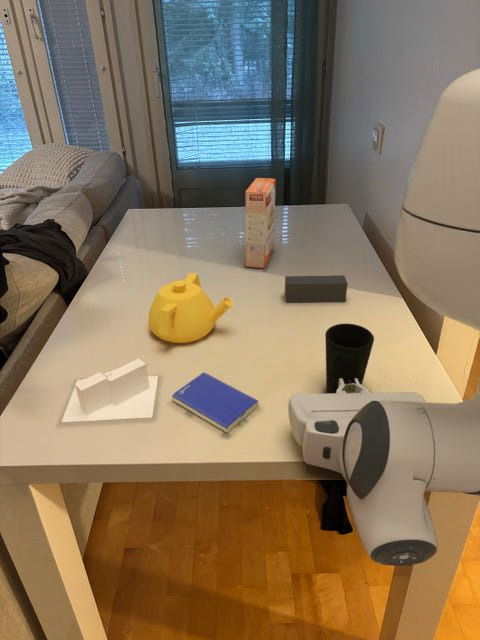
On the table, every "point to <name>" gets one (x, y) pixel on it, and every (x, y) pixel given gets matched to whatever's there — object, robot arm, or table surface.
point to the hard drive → (215, 401)
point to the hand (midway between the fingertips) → (347, 381)
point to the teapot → (184, 311)
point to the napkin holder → (114, 395)
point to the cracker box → (259, 222)
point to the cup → (346, 353)
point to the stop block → (315, 289)
